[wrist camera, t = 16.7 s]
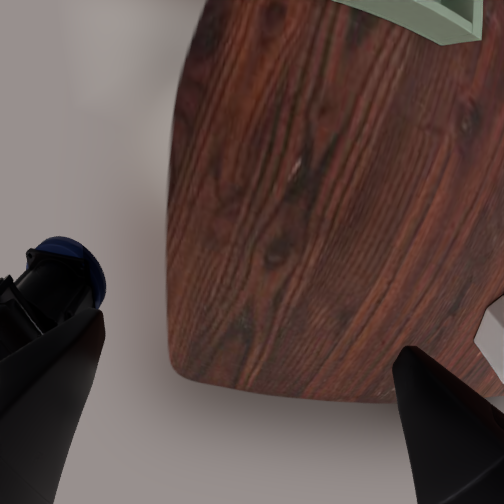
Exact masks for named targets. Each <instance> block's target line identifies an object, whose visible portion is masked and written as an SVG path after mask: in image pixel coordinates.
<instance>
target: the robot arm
mask: <svg viewBox="0 0 504 504" xmlns="http://www.w3.org/2000/svg"><path fill="white" fill-rule="evenodd" d="M31 254H32V255H31ZM26 257H27V263H28V269H27V270H26V271H25V272H24V273H23V274H22V275H21V276H20V277H19V278H18V279H17V280H16V281H15V282H13V278H12V277H11V276H10V275H8V276H6V277H5V278H4V279H3V278H0V504H53V502H54V499H55V495H56V491H57V488H58V484H59V481H60V477H61V474H62V470H63V467H64V464H65V461H66V457H67V454H68V451H69V448H70V445H71V442H72V439H73V436H74V433H75V430H76V427H77V425H78V422H79V419H80V416H81V414H82V411H83V408H84V405H85V403H86V400H87V397H88V395H89V392H90V389H91V387H92V384H93V380H94V377H95V373H96V369H97V365H98V362H99V358H100V355H101V351H102V348H103V344H104V341H105V327H104V318H103V313H102V311H101V310H99V309H96V308H95V300H94V290H93V286H92V284H91V278H90V267H89V262H88V261H87V260H86V259H84V258H79V257H74V256H69V255H63V254H58V253H53V252H48V251H43V250H38V249H32V248H30V249H29V250H28V251H27V252H26ZM81 263H82V264H84V266H85V267H84V266H83V265H82V264H81ZM392 372H393V378H394V384H395V390H396V397H397V404H398V410H399V414H400V419H401V423H402V427H403V431H404V435H405V440H406V445H407V449H408V454H409V459H410V464H411V469H412V474H413V479H414V485H415V490H416V497H417V503H418V504H504V414H503V413H502V412H501V411H500V410H498V409H497V408H496V407H495V406H493V405H492V404H490V403H489V402H488V401H487V400H486V399H484V398H483V397H482V396H481V395H479V394H478V393H477V392H475V391H474V390H473V389H472V388H470V387H469V386H468V385H467V384H465V383H464V382H463V381H461V380H460V379H459V378H457V377H456V376H455V375H454V374H452V373H451V372H450V371H448V370H447V369H446V368H444V367H443V366H442V365H441V364H439V363H438V362H437V361H435V360H434V359H433V358H431V357H430V356H429V355H427V354H426V353H425V352H424V351H422V350H421V349H420V348H418V347H417V346H405V347H404V348H403V349H402V350H401V352H400V354H399V355H398V357H397V359H396V360H395V362H394V364H393V367H392Z"/></svg>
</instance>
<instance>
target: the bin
mask: <svg viewBox="0 0 504 504" xmlns="http://www.w3.org/2000/svg"><path fill="white" fill-rule="evenodd" d="M332 1H335V2H339V3H342V4H345V5H348V6H351V7H354V8H357V9H360V10H363V11H365V12H368V13H371V14H373V15H376V16H378V17H381V18H384V19H386V20H388V21H391V22H393V23H395V24H398V25H400V26H402V27H405V28H407V29H409V30H411V31H413V32H415V33H417V34H419V35H421V36H423V37H425V38H427V39H429V40H431V41H433V42H435V43H437V44H439V45H441V46H443V45H449V44H456V43H462V42H470V41H477V40H481V37H482V19H483V0H332Z"/></svg>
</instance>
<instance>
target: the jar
mask: <svg viewBox="0 0 504 504" xmlns="http://www.w3.org/2000/svg"><path fill="white" fill-rule="evenodd" d="M474 343H475V344H476V345H477V347H478V348H479V349H480V351H481V352H482V354H483V355H484V356H485V358H486V359H487V361H488V362H489V364H490V365H491V366H492V368H493V369H494V371H495V372H496V374H497V375H498V377H499V378H500V380H501V381H502V383H503V384H504V295H503V296H502V297H500V298H499V299H498V300H497V301H495V302H494V303H493V304H492V305H490V306H489V307H488V308H487V309H486V311H485V314H484V316H483V319H482V321H481V324H480V326H479V329H478V331H477V334H476V336H475V338H474Z"/></svg>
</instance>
